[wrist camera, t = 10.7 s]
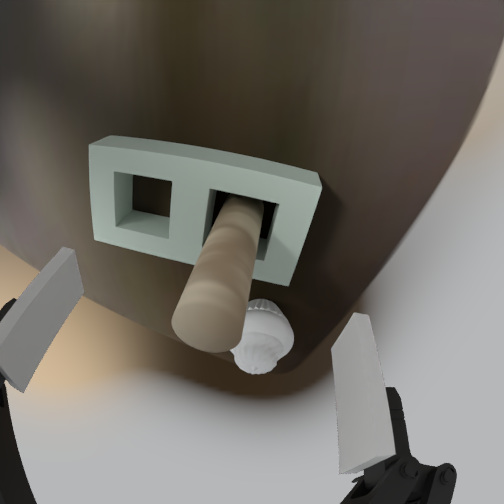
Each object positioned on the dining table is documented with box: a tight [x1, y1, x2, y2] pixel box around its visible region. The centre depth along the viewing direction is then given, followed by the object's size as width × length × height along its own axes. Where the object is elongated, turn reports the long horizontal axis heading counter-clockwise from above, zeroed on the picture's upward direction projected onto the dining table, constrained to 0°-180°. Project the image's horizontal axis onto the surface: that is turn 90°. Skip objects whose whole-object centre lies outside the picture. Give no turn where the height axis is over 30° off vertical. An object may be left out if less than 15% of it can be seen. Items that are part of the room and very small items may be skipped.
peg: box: [172, 193, 264, 352], centre depth 16 cm, size 3×3×12 cm
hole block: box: [89, 135, 322, 286], centre depth 20 cm, size 16×8×3 cm, turn 79°
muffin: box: [230, 299, 294, 374], centre depth 24 cm, size 6×6×7 cm
